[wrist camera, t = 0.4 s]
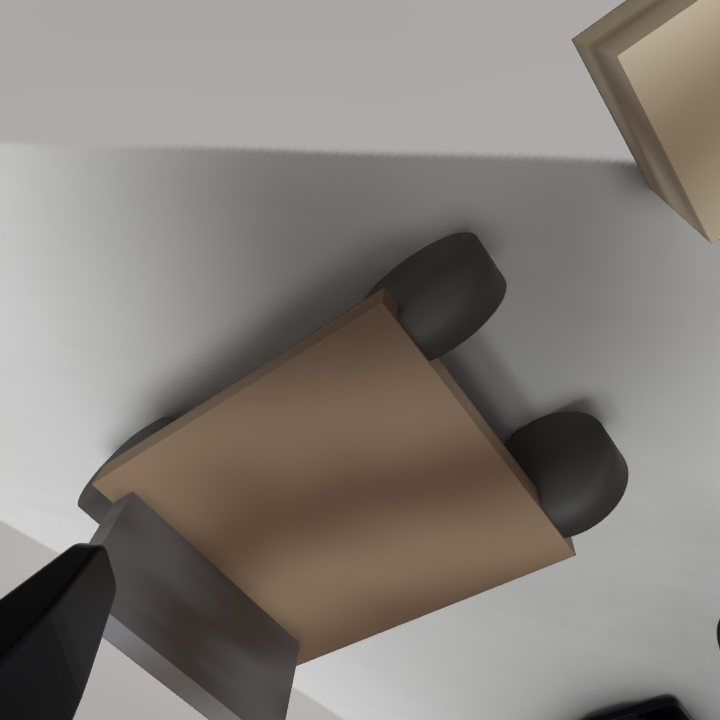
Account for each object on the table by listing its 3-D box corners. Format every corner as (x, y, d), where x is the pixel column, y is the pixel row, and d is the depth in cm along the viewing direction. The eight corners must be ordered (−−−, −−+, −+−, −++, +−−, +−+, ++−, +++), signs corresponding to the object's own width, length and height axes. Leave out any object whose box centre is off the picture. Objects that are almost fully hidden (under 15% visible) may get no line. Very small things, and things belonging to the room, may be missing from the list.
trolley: (618, 437, 24) (702, 634, 17) (269, 596, 30) (219, 790, 23) (461, 197, 20) (480, 317, 13) (98, 438, 26) (-29, 610, 19)
